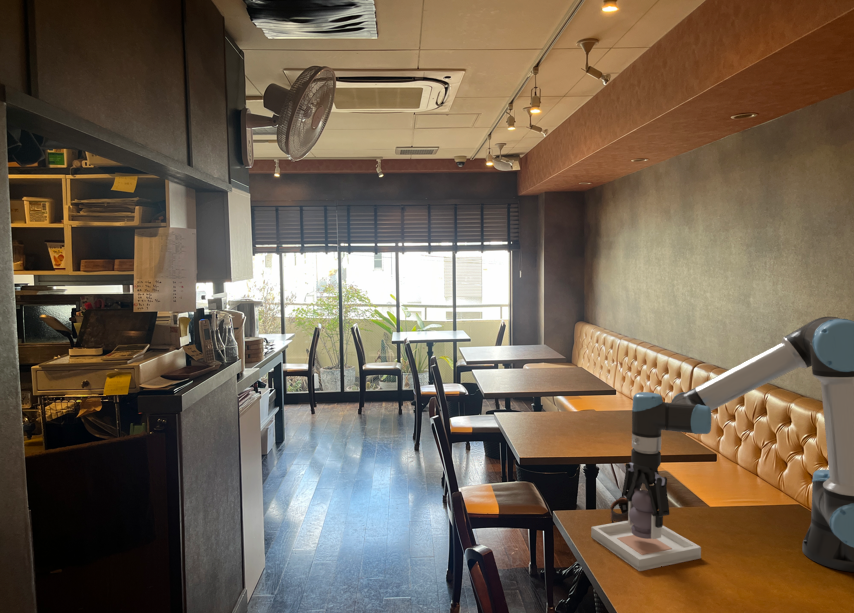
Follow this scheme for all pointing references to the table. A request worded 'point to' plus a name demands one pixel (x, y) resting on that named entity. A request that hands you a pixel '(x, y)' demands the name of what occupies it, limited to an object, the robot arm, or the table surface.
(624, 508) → the pottery mug
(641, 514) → the cat figurine
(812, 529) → the robot arm
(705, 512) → the table surface
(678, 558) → the tray
